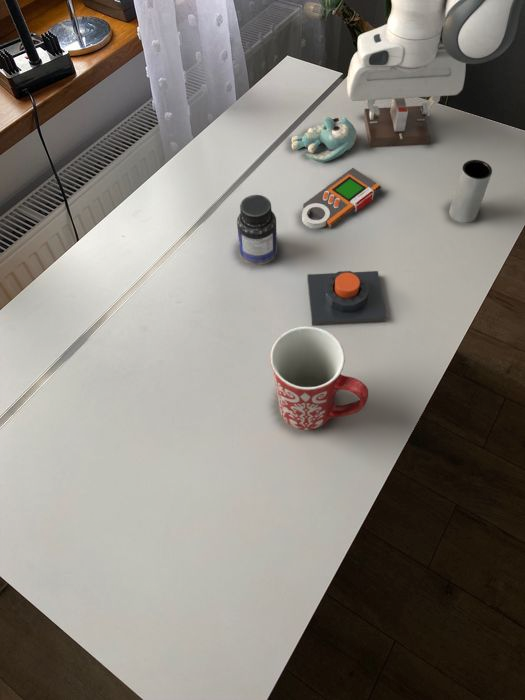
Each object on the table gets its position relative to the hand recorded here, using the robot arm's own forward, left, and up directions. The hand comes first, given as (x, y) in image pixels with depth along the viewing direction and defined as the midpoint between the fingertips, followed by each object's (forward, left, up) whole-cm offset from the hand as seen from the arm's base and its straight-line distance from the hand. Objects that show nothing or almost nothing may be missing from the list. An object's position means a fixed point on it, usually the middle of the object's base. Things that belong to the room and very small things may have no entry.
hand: (399, 116), depth 111 cm
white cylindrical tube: (-8, +22, -5) cm, 24 cm away
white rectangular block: (0, 0, -1) cm, 1 cm away
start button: (+14, +40, -1) cm, 42 cm away
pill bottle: (+27, +29, -5) cm, 40 cm away
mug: (+20, +59, -5) cm, 62 cm away
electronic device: (+13, +19, -5) cm, 23 cm away
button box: (+14, +40, -4) cm, 42 cm away
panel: (0, 0, -4) cm, 4 cm away
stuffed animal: (+14, +3, -5) cm, 15 cm away
